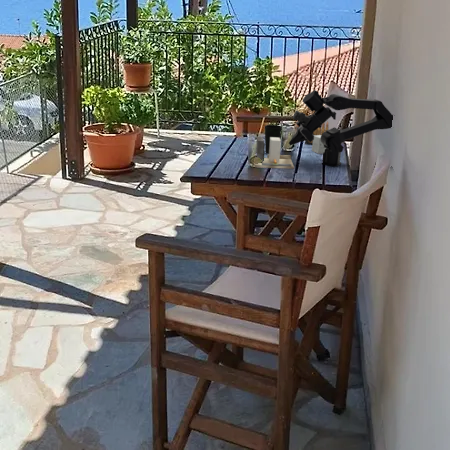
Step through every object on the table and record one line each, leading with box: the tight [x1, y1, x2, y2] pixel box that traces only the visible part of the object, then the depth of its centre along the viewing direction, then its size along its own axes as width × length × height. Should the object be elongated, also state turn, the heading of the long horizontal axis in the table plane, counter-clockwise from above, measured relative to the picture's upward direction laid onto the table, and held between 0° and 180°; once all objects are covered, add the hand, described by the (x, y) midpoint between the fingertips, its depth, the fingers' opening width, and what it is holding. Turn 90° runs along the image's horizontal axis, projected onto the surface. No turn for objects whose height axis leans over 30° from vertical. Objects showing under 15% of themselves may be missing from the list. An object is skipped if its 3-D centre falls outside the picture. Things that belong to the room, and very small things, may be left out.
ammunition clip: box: [304, 120, 329, 146], centre depth 303 cm, size 11×2×12 cm, turn 68°
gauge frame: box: [253, 136, 295, 170], centre depth 266 cm, size 16×12×10 cm
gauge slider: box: [268, 137, 282, 163], centre depth 266 cm, size 4×10×9 cm, turn 1°
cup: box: [264, 124, 283, 155], centre depth 284 cm, size 8×8×12 cm
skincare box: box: [311, 135, 326, 155], centre depth 291 cm, size 6×6×7 cm
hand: (289, 144), depth 267 cm, fingers closed
